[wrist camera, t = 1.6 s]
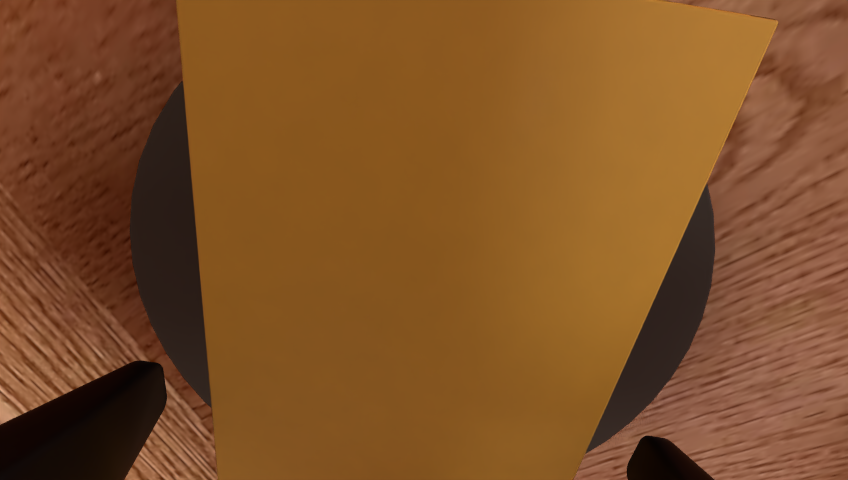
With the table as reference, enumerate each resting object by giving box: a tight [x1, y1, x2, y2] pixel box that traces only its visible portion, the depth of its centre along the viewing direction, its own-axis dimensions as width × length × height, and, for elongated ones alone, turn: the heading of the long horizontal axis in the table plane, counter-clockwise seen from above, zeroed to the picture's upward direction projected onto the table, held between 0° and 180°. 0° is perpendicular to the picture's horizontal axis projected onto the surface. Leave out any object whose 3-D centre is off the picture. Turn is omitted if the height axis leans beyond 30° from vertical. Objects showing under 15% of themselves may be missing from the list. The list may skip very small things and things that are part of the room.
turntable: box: [130, 81, 715, 454], centre depth 11 cm, size 15×15×1 cm
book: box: [176, 0, 778, 480], centre depth 9 cm, size 14×7×3 cm, turn 171°
